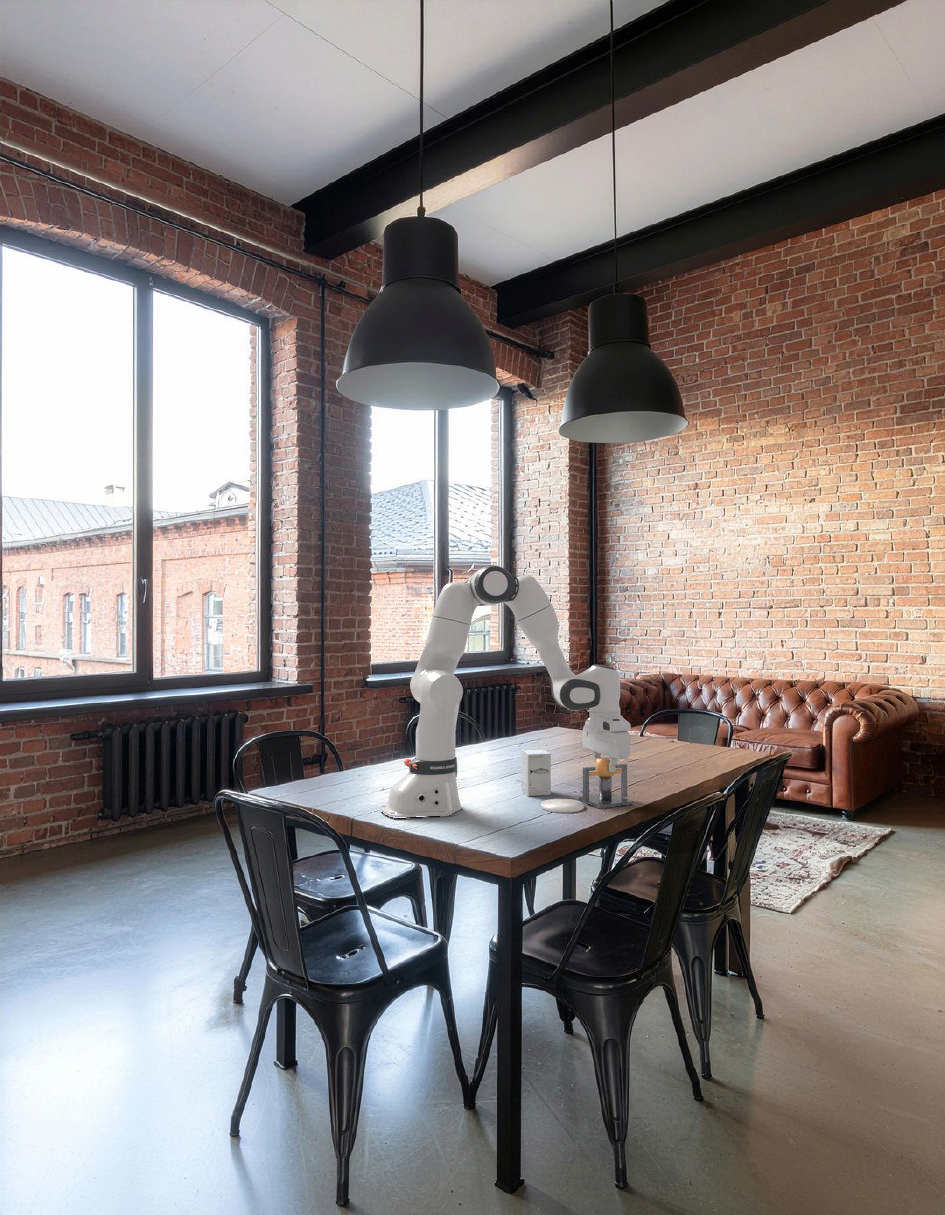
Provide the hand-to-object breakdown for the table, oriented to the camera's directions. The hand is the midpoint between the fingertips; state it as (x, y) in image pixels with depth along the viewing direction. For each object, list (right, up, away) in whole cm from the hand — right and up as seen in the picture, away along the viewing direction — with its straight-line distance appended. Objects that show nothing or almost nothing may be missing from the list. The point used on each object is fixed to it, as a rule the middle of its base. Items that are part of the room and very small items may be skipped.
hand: (605, 769), depth 225 cm
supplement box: (-19, -10, +12) cm, 24 cm away
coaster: (-13, -10, -5) cm, 17 cm away
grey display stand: (0, -9, 0) cm, 9 cm away
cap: (0, -1, 0) cm, 1 cm away
